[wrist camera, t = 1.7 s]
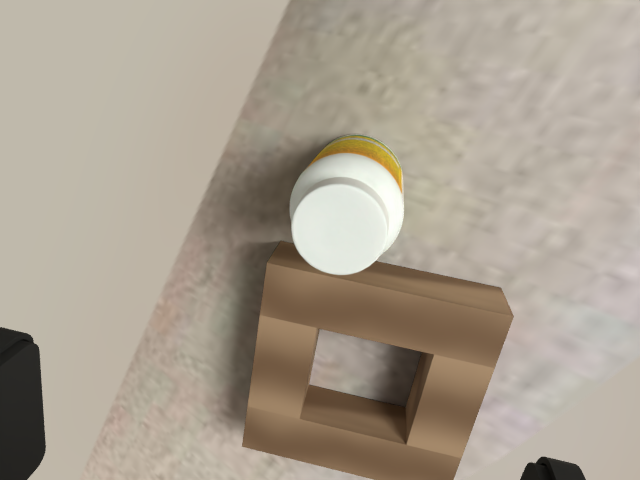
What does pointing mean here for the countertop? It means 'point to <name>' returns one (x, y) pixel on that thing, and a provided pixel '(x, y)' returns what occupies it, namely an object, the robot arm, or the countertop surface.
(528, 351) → the countertop surface
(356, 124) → the countertop surface
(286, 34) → the countertop surface
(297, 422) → the socket block
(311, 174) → the supplement bottle
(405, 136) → the countertop surface
